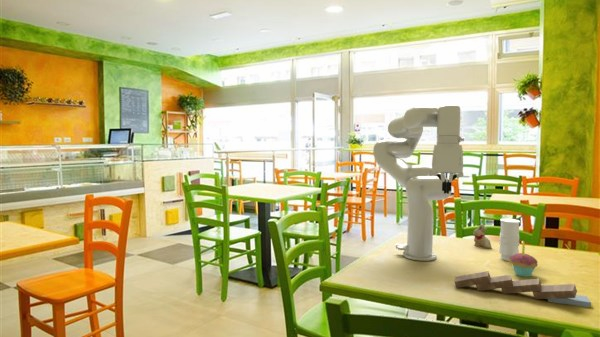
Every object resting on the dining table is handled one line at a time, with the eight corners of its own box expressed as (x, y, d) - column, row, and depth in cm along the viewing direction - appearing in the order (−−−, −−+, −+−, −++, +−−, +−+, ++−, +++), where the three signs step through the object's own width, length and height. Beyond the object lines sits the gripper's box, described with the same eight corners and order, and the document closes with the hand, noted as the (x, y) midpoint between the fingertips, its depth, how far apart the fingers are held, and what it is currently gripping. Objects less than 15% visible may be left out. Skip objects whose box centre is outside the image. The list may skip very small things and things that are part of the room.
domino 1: (454, 281, 127) (488, 275, 123) (455, 276, 131) (488, 271, 127) (456, 288, 127) (490, 282, 123) (457, 282, 131) (490, 277, 127)
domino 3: (501, 287, 122) (538, 284, 117) (503, 281, 126) (539, 278, 121) (502, 293, 122) (540, 291, 117) (504, 288, 126) (541, 285, 121)
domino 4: (532, 292, 118) (572, 290, 111) (535, 285, 122) (574, 284, 115) (534, 298, 118) (575, 297, 111) (537, 292, 121) (576, 291, 115)
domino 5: (548, 296, 116) (590, 302, 112) (546, 291, 121) (586, 296, 117) (548, 303, 116) (590, 309, 112) (545, 297, 121) (586, 302, 117)
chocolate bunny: (483, 244, 181) (484, 221, 180) (493, 248, 173) (494, 225, 172) (471, 244, 180) (472, 221, 180) (480, 249, 173) (481, 225, 172)
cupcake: (536, 280, 134) (538, 244, 133) (507, 275, 138) (508, 240, 138) (537, 273, 141) (539, 238, 140) (509, 269, 146) (511, 235, 145)
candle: (512, 256, 162) (513, 218, 161) (522, 261, 155) (523, 222, 154) (495, 256, 162) (496, 218, 161) (504, 261, 155) (505, 222, 154)
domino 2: (475, 284, 124) (511, 279, 120) (476, 279, 129) (510, 274, 125) (477, 291, 124) (513, 286, 120) (477, 285, 129) (512, 281, 125)
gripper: (471, 140, 143) (469, 193, 145) (426, 140, 149) (425, 190, 150) (471, 140, 136) (469, 195, 138) (424, 140, 142) (423, 193, 143)
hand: (446, 193), depth 144 cm, fingers closed
